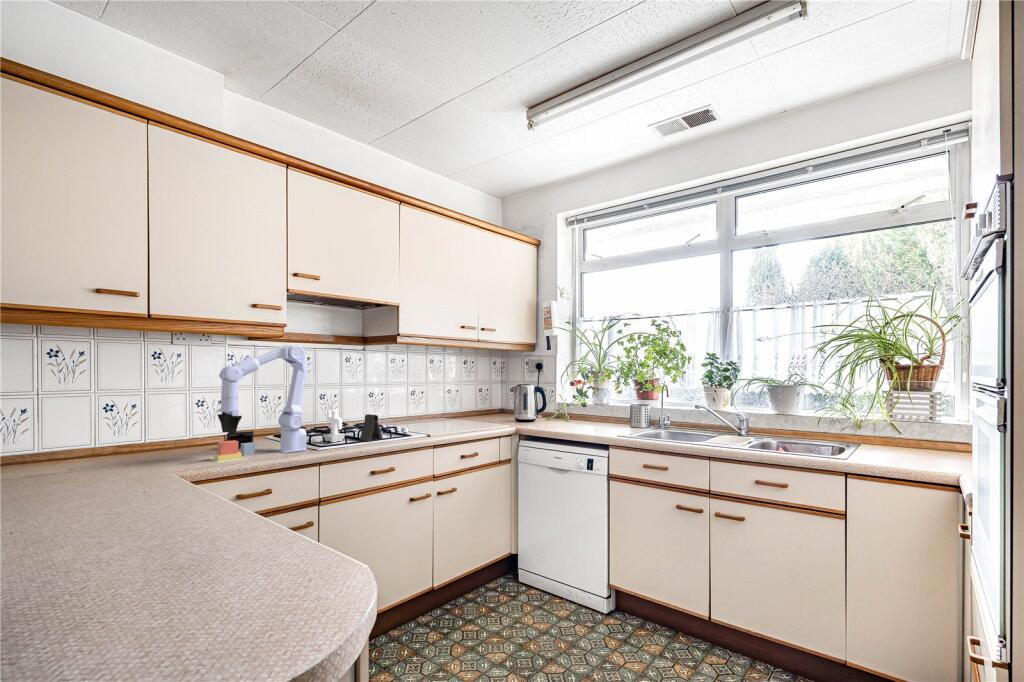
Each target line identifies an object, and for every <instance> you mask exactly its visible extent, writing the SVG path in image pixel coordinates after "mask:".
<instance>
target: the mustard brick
mask: <svg viewBox="0 0 1024 682" xmlns="http://www.w3.org/2000/svg"><path fill="white" fill-rule="evenodd" d="M242 456H243V455H242V453H241V451H238V453H237V454H229V455H219V454H218V453H214V457H213V458H214V459H215V460H217V461H225V460H233V459H241V458H242Z"/></svg>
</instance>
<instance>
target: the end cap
mask: <svg viewBox="0 0 1024 682" xmlns="http://www.w3.org/2000/svg"><path fill="white" fill-rule="evenodd" d="M233 440H236V441H238V450H241V444H242V443H251V442H252V443H254V431H240V432H237V431H236V434H233V435H229V433H228V432H226V441H233Z"/></svg>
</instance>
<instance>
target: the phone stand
mask: <svg viewBox="0 0 1024 682" xmlns="http://www.w3.org/2000/svg"><path fill="white" fill-rule="evenodd" d="M380 439H382V440H383V435H382V432H381V427H380V424H379V416H378V415H377V414H369V413H367V414H366V413H365V414H364V422H363V427H362V430H361V432H360V436H359V441H360V440H363V441H362V442H367V441H370V442H375V441H374V440H376V441H380Z"/></svg>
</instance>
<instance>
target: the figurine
mask: <svg viewBox="0 0 1024 682" xmlns="http://www.w3.org/2000/svg"><path fill="white" fill-rule="evenodd" d="M326 420H327V422H328V423H330V433H326V434H322V436H323V438H324V439H325V442H327V441H330V442H337V441H341V442H342V441H343V440H344V438H345V436H346V433H340V432H338V431H339V430H342V429H343V420H342V418H341V417H339V410H338V409H331V410H327V414H326Z"/></svg>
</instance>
